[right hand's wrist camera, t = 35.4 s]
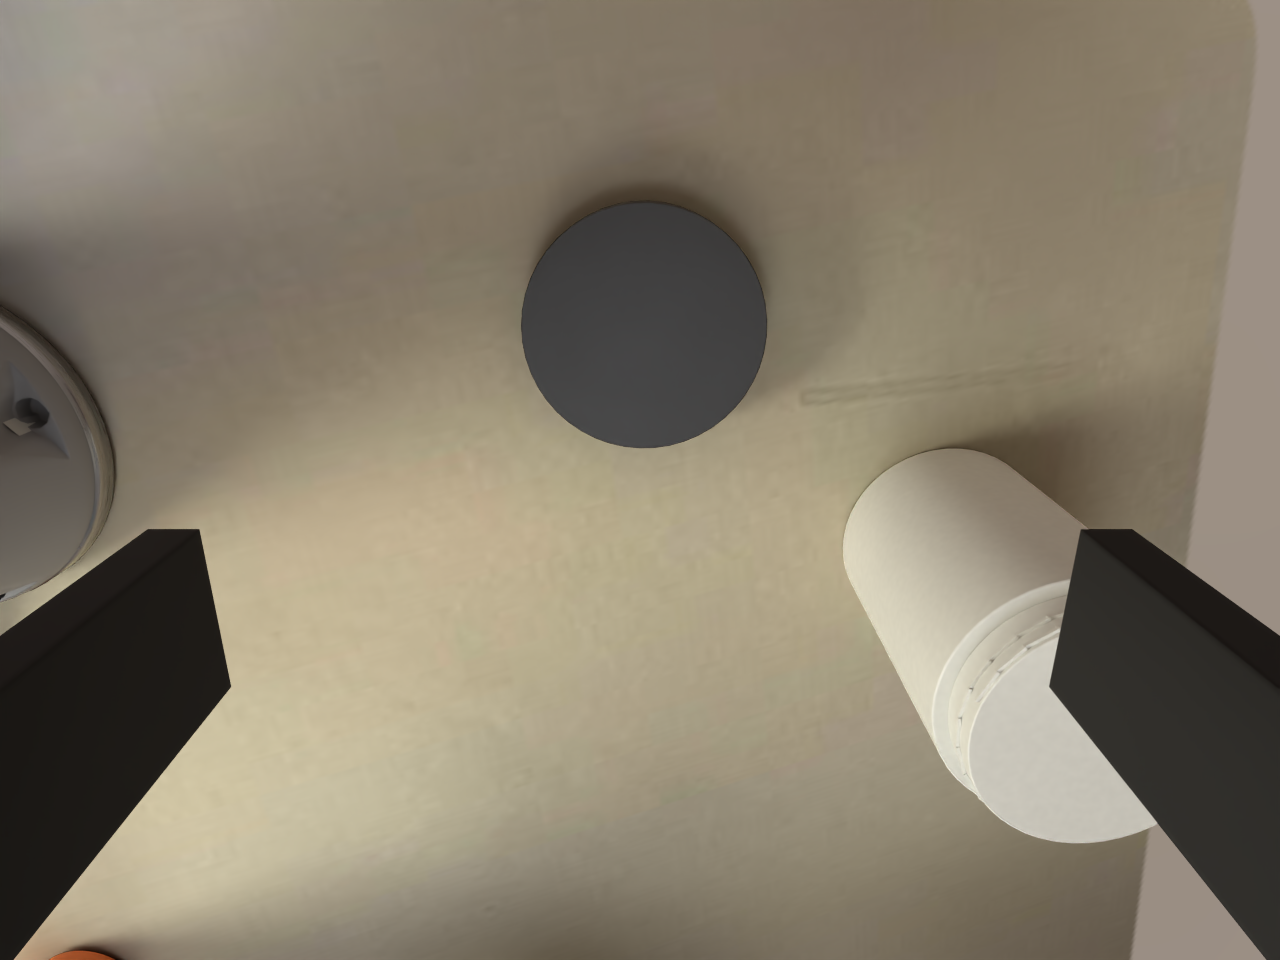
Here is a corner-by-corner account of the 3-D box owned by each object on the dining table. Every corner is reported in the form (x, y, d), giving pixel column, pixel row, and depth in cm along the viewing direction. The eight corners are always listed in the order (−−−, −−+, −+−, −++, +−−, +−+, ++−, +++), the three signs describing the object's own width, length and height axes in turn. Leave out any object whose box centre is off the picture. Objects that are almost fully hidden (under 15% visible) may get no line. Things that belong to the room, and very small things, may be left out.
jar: (1078, 497, 40) (1323, 678, 26) (968, 652, 43) (1132, 892, 29) (908, 415, 38) (1067, 557, 24) (807, 581, 41) (895, 796, 27)
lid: (696, 154, 34) (700, 153, 32) (797, 371, 38) (806, 382, 36) (484, 272, 36) (474, 278, 34) (597, 470, 39) (595, 486, 37)
